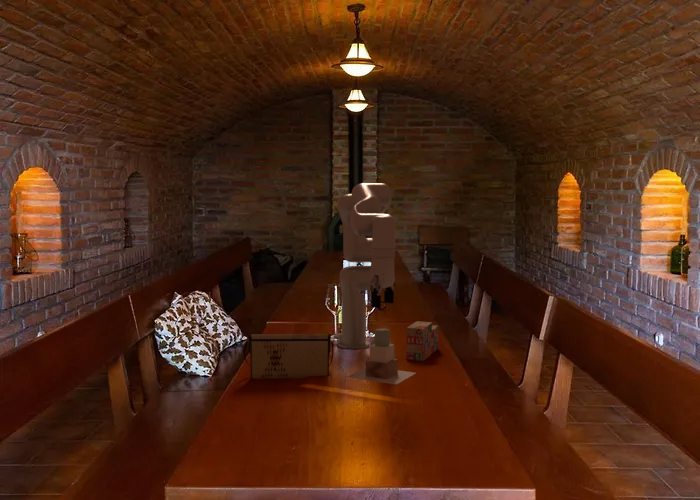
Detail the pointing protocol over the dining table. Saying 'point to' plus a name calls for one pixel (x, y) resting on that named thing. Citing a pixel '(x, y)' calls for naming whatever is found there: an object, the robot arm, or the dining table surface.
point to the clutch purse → (289, 355)
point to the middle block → (381, 353)
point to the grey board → (393, 380)
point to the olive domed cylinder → (382, 337)
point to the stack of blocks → (421, 340)
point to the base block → (381, 369)
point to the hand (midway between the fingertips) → (382, 305)
